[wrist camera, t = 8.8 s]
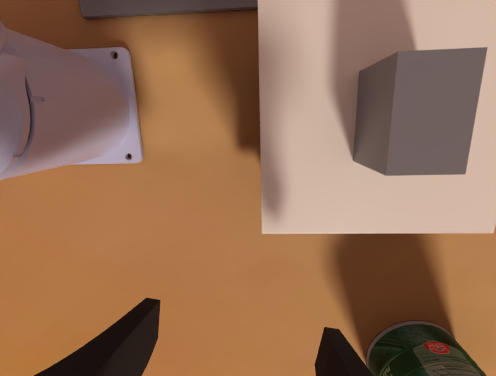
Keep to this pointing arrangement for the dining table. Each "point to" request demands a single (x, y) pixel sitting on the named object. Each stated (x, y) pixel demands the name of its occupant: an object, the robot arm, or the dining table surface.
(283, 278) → the dining table surface
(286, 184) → the lid
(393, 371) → the canned tomato
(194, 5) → the mat
